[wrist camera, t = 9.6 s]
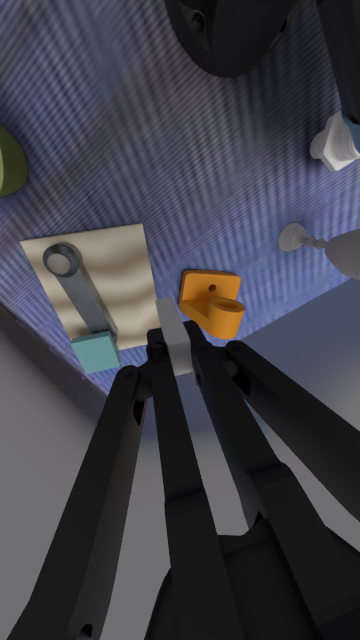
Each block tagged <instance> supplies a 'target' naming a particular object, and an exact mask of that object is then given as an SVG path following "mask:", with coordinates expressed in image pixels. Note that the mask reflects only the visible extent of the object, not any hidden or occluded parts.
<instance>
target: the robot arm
mask: <svg viewBox="0 0 360 640" xmlns="http://www.w3.org/2000/svg"><path fill="white" fill-rule="evenodd" d="M165 1H166V5H167V9H168V12H169V15H170V18H171V21H172V24H173V26H174V29H175V31H176V33H177V35H178V37H179V39H180V41H181V43H182V45H183V46H184V48H185V49H186V51H187V52H188V54H189V55H190V56H191V57H192V59H193V60H194V61H195V62H196V63H197V64H198V65H199V66H200V67H202V68H203V69H204V70H206V71H207V72H209V73H211V74H213V75H216V76H220V77H236V76H240V75H242V74H245V73H247V72H248V71H250V70H251V69H253V68H254V67H255V66H257V65H258V64H259V63H260V62H261V61H262V60H263V59H264V58H265V56H266V55H267V54H268V53H269V52H270V51H271V50H272V49H273V47H274V46H275V45H276V44H277V42H278V41H279V40H280V38H281V37H282V35H283V34H284V32H285V30H286V29H287V27H288V25H289V23H290V21H291V19H292V17H293V15H294V13H295V11H296V9H297V7H298V4H299V2H300V0H165ZM316 4H317V9H318V13H319V17H320V21H321V25H322V29H323V33H324V37H325V41H326V45H327V49H328V53H329V57H330V60H331V64H332V68H333V72H334V76H335V80H336V84H337V88H338V92H339V96H340V101H341V105H342V107H341V116H342V120H343V121H344V123H345V124H346V125H347V126H348V129H349V132H350V135H351V138H352V141H353V144H354V147H355V149H356V150H357V151H358V153H360V0H316ZM155 303H156V308H157V313H158V318H159V323H160V327H159V328H155V329H150V330H148V332H147V334H146V335H147V342H148V346H147V347H146V352H147V356H148V360H147V362H146V363H144V364H143V365H141V366H139V367H136V366H134V365H128V366H125V367H123V368H121V369H120V370H119V371H118V372H117V374H116V376H115V379H114V382H113V384H112V387H111V389H110V392H109V395H108V397H107V400H106V403H105V405H104V408H103V410H102V413H101V415H100V418H99V421H98V424H97V426H96V429H95V431H94V434H93V436H92V439H91V441H90V444H89V447H88V450H87V452H86V455H85V457H84V460H83V462H82V465H81V467H80V470H79V473H78V476H77V478H76V480H75V483H74V486H73V488H72V491H71V493H70V496H69V499H68V501H67V504H66V506H65V509H64V512H63V514H62V517H61V519H60V522H59V525H58V527H57V530H56V532H55V535H54V538H53V540H52V543H51V545H50V548H49V551H48V553H47V556H46V559H45V561H44V564H43V566H42V569H41V571H40V574H39V577H38V579H37V582H36V585H35V587H34V590H33V592H32V595H31V598H30V600H29V602H28V604H27V605H26V607H25V609H24V611H23V612H22V614H21V616H20V617H19V619H18V621H17V623H16V624H15V626H14V628H13V629H12V631H11V633H10V634H9V636H8V638H7V640H99V639H100V636H101V633H102V629H103V626H104V622H105V619H106V615H107V611H108V608H109V604H110V599H111V595H112V590H113V586H114V581H115V576H116V571H117V565H118V560H119V554H120V549H121V543H122V537H123V532H124V527H125V521H126V516H127V510H128V505H129V499H130V494H131V488H132V483H133V477H134V472H135V466H136V461H137V455H138V450H139V445H140V439H141V434H142V428H143V422H144V417H145V411H146V406H147V399H148V398H150V397H152V396H153V401H154V409H155V418H156V426H157V434H158V442H159V451H160V460H161V468H162V476H163V485H164V493H165V504H164V505H165V519H166V528H167V537H168V546H169V555H170V563H171V568H170V569H169V571H168V573H167V575H166V576H165V578H164V580H163V583H162V585H161V588H160V590H159V593H158V596H157V599H156V602H155V605H154V608H153V612H152V615H151V618H150V622H149V625H148V628H147V632H146V635H145V638H144V640H360V552H359V551H358V550H356V549H355V548H354V547H353V546H351V545H350V544H349V543H347V542H346V541H345V540H343V539H342V538H341V537H340V536H338V535H337V534H336V533H335V532H333V531H332V530H330V529H329V528H328V527H326V526H325V525H324V523H323V522H322V520H321V518H320V517H319V515H318V513H317V512H316V510H315V508H314V507H313V505H312V503H311V502H310V500H309V498H308V497H307V495H306V493H305V492H304V490H303V488H302V487H301V485H300V483H299V482H298V480H297V478H296V477H295V475H294V474H293V472H292V471H291V469H290V468H289V467H288V466H287V465H286V464H284V463H282V462H281V461H280V460H279V459H278V458H277V456H276V455H275V453H274V451H273V450H272V448H271V446H270V444H269V443H268V441H267V439H266V438H265V436H264V434H263V432H262V430H261V429H260V427H259V425H258V423H257V422H256V420H255V418H254V417H253V415H252V413H251V411H250V409H249V408H248V406H247V404H246V403H245V401H244V399H245V400H246V401H247V402H248V403H249V405H251V407H252V408H253V409H254V410H255V411H256V412H257V413H258V414H259V415H260V416H261V418H262V419H263V420H264V421H265V422H266V423H267V424H268V425H269V426H270V427H271V428H272V430H273V431H274V432H275V433H276V434H277V435H278V436H279V437H280V438H281V439H282V441H283V442H284V443H285V444H286V445H287V446H288V447H289V448H290V449H291V450H292V452H293V453H294V454H295V455H296V456H297V457H298V458H299V459H300V460H301V461H302V462H303V463H304V465H305V466H306V467H307V468H308V469H309V470H310V471H311V472H312V473H313V474H314V476H315V477H316V478H317V479H318V480H319V481H320V482H321V483H322V484H323V485H324V486H325V488H326V489H327V490H328V491H329V492H330V493H331V494H332V495H333V496H334V497H335V498H336V499H337V500H338V501H339V503H340V504H341V505H342V506H343V507H344V508H345V509H346V510H347V511H348V512H349V513H350V514H351V515H353V516H354V517H355V518H356V519H357V520H358V521H359V522H360V431H358V430H357V429H356V428H355V427H353V426H352V425H351V424H349V423H348V422H347V421H345V420H344V419H343V418H341V417H340V416H339V415H337V414H336V413H335V412H334V411H332V410H331V409H329V408H328V407H327V406H326V405H325V404H323V403H322V402H321V401H319V400H318V399H317V398H315V397H314V396H313V395H312V394H310V393H309V392H308V391H306V390H305V389H304V388H302V387H301V386H300V385H298V384H297V383H296V382H295V381H293V380H292V379H290V378H289V377H288V376H287V375H285V374H284V373H283V372H281V371H280V370H279V369H278V368H276V367H275V366H274V365H272V364H271V363H270V362H268V361H267V360H266V359H264V358H263V357H262V356H261V355H259V354H258V353H257V352H255V351H254V350H253V349H252V348H250V347H249V346H248V345H246V344H244V343H243V342H241V341H238V340H233V341H229V342H228V343H227V344H226V347H217V346H213V345H212V344H211V343H210V342H208V341H207V340H206V338H205V337H204V335H203V333H202V331H201V329H200V328H199V326H198V324H197V323H196V322H195V321H193V320H190V321H185V322H182V320H181V318H180V316H179V313H178V311H177V309H176V306H175V304H174V302H173V300H172V297H169V298H164V299H159V300H155ZM193 368H194V370H195V377H196V385H199V388H200V391H201V394H202V396H203V399H204V401H205V404H206V407H207V410H208V413H209V415H210V418H211V421H212V423H213V426H214V429H215V432H216V434H217V437H218V440H219V442H220V445H221V448H222V450H223V453H224V456H225V458H226V461H227V464H228V467H229V469H230V472H231V475H232V477H233V480H234V483H235V485H236V488H237V491H238V494H239V496H240V500H241V504H242V509H243V513H244V516H245V519H246V522H247V525H248V528H249V530H248V531H247V532H246V533H245V534H244V535H241V536H233V535H217V532H216V528H215V524H214V521H213V517H212V513H211V509H210V506H209V502H208V499H207V495H206V492H205V489H204V486H203V482H202V479H201V475H200V471H199V467H198V463H197V459H196V456H195V452H194V448H193V444H192V440H191V436H190V432H189V429H188V425H187V421H186V417H185V413H184V410H183V406H182V402H181V398H180V394H179V390H178V386H177V382H176V379H175V376H177V375H181V374H185V373H189V372H193ZM243 398H244V399H243Z"/></svg>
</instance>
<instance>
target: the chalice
mask: <svg viewBox="0 0 360 640" xmlns="http://www.w3.org/2000/svg"><path fill="white" fill-rule="evenodd" d="M304 244H306V246H307V247H308V248H310V247H312V246H315V247H316V249H321V248H325V254H326V256H327V257H328V258H329V260H330V261H331V262H332V264H333V265H334V266H335V267H336V268H337V269H338V270H339V271H341V272H342V273H343V274H345V275H347V276H350V277H353V278H356V279H359V280H360V229H357V230H353V231H350V232H347V233H344V234H341V235H339V236H336V237H334V238H332V239H331V240H330V241H329V242H327V241H325V240H324V239H323V238H321V239H319V240H316V238H315V237H314V236H311V237H310V238H307V231H306V230H305V229H304V228H303V227H302V226H301V225H300V224H299V223H291V224H289V225H288V226H286V227H285V228H284V229H283V231H282V233H281V234H280V237H279V247H280V248H281V250H283V251H285V252H288V251H292V250H296V249H299V248H300V247H302V246H303V245H304Z"/></svg>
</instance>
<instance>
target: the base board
mask: <svg viewBox="0 0 360 640" xmlns="http://www.w3.org/2000/svg"><path fill="white" fill-rule="evenodd" d="M59 242H65V243H69V244H71V245H73V246H75V247H76V248H77V249H78V250H79V252H80V253H81V255H82V260H83V261H82V263H83V265H84V267H85V269H86V271H87V273H88V275H89V276H90V278H91V280H92V282H93V284H94V286H95V288H96V289H97V291H98V293H99V295H100V297H101V299H102V301H103V303H104V304H105V306H106V308H107V310H108V312H109V314H110V316H111V317H112V319H113V321H114V323H115V325H116V327H117V329H118V336H117V342H116V344H117V346H118V349H119V350H122V349H127V348H131V347H136V346H140V345H145V344H148V342H147V335H146V334H147V332H148V330H150V329H155V328H159V327H160V323H159V318H158V313H157V308H156V303H155V300H157V297H156V292H155V287H154V282H153V276H152V271H151V266H150V261H149V256H148V250H147V245H146V240H145V235H144V230H143V225H142V223H139V224H132V225H125V226H118V227H111V228H104V229H97V230H90V231H83V232H76V233H69V234H62V235H55V236H48V237H41V238H34V239H28V240H23V241H20V244H21V245H22V247H23V249H24V251H25V253H26V255H27V257H28V259H29V261H30V263H31V265H32V267H33V268H34V270H35V272H36V274H37V276H38V278H39V280H40V282H41V284H42V286H43V288H44V290H45V291H46V293H47V295H48V297H49V299H50V301H51V303H52V305H53V307H54V309H55V311H56V312H57V314H58V316H59V318H60V320H61V322H62V324H63V326H64V328H65V330H66V332H67V334H68V335H69V337H70V339H71V341H72V339H73V338H77V337H82V336H87V335H91V334H92V333H91V331H90V330H89V328H88V327H87V325H86V324H85V322H84V321H83V319H82V317H81V316H80V314H79V313H78V311H77V310H76V308H75V306H74V305H73V303H72V302H71V300H70V299H69V297H68V296H67V294H66V292H65V291H64V289H63V288H62V286H61V285H60V283H59V281H58V280H57V278H56V277H55V275H53V274H52V273H50V272H49V271H48V270H47V269H46V267H45V265H44V263H43V253H44V251H45V250H46V249H47V248H48V247H50V246H52V245H54V244H56V243H59ZM47 264H48V266H49V268H50V269H51V270H52V271H53V272H55V273H58V274H64V273H66V272H68V270H69V269H70V268H71V261H70V259H69V258H68V257H67V256H66V255H64V254H62V253H54V254H52V255H51V256H50V257H49V258H48V260H47Z"/></svg>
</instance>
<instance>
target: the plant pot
mask: <svg viewBox="0 0 360 640" xmlns="http://www.w3.org/2000/svg"><path fill="white" fill-rule="evenodd" d="M27 178H28V164H27V160H26V157H25V154H24V152H23V150H22V148H21V147H20V145H19V144H18V142H17V141H16V139H15V138H14V137H13V136H12V134H11V133H10V132H9V131H8V130H7V129H6V128H5V127H4V126H2V125H1V124H0V198H1V197H4V196H6V195H9V194H12V193H15V192H17V191H19V190H20V189H21V188H22V187H23V186H24V185H25V183H26V181H27Z"/></svg>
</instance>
